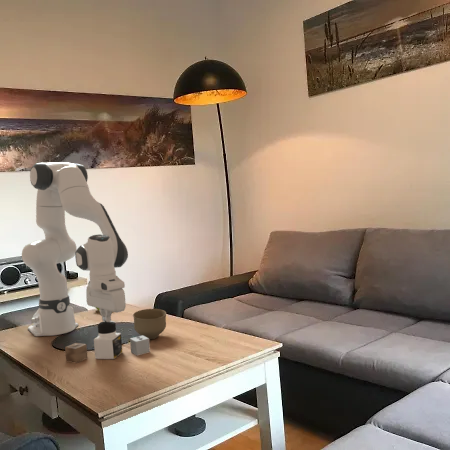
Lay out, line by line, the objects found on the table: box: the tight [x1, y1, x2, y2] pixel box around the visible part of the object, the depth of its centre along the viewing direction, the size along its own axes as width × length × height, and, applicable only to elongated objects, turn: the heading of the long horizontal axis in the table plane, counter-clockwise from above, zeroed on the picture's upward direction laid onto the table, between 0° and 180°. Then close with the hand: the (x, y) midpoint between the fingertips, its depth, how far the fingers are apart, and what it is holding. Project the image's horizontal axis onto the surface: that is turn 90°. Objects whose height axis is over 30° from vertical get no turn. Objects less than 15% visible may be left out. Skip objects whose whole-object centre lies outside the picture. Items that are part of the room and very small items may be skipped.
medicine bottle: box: [93, 320, 123, 360], centre depth 172 cm, size 7×7×12 cm
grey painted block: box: [129, 335, 151, 356], centre depth 174 cm, size 5×5×5 cm
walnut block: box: [64, 342, 89, 364], centre depth 170 cm, size 5×5×5 cm
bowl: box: [132, 308, 167, 340], centre depth 189 cm, size 13×13×10 cm
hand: (106, 321), depth 171 cm, fingers closed
